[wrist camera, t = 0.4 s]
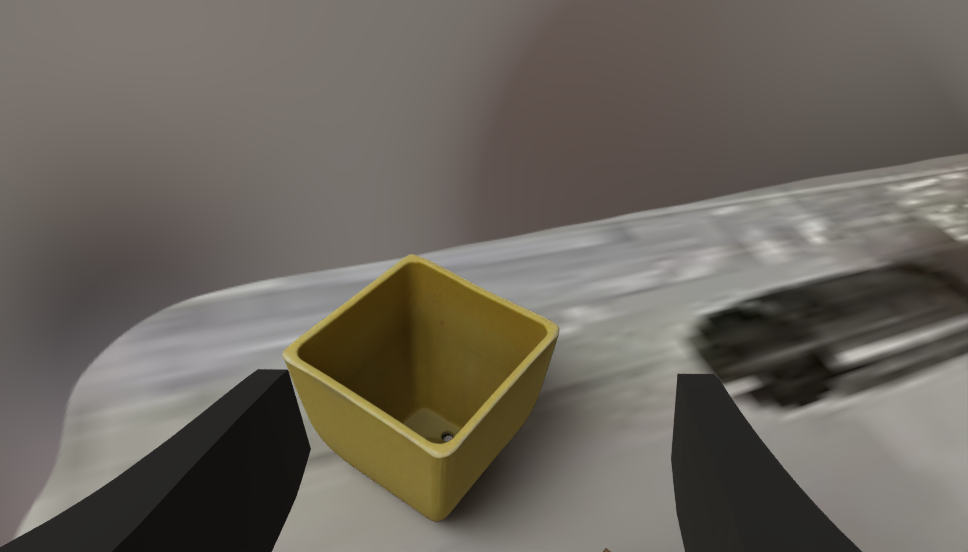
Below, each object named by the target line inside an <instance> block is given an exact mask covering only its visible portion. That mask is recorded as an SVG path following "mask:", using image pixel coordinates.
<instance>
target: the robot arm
mask: <svg viewBox="0 0 968 552" xmlns="http://www.w3.org/2000/svg"><path fill="white" fill-rule="evenodd" d="M310 450H311V448H310V444H309V441H308V437H307V434H306V430H305V427H304V424H303V420H302V417H301V413H300V410H299V406H298V403H297V399H296V396H295V392H294V389H293V385H292V382H291V378H290V375H289V371H288V370H272V369H258V370H256V371H255V372H254V373H252V374H251V375H249V376H248V377H247V378H245V379H244V380H243V381H242V382H240V383H239V384H238V385H236V386H235V387H234V388H233V389H231V390H230V391H229V392H228V393H226V394H225V395H224V396H223V397H221V398H220V399H219V400H218V401H216V402H215V403H214V404H213V405H211V406H210V407H209V408H208V409H206V410H205V411H204V412H203V413H201V414H200V415H199V416H198V417H196V418H195V419H194V420H193V421H191V422H190V423H189V424H187V425H186V426H185V427H184V428H182V429H181V430H180V431H179V432H177V433H176V434H175V435H174V436H172V437H171V438H170V439H168V440H167V441H166V442H164V443H163V444H162V445H160V446H159V447H158V448H156V449H155V450H153V451H152V452H151V453H149V454H148V455H147V456H145V457H144V458H143V459H141V460H140V461H138V462H137V463H136V464H134V465H133V466H132V467H130V468H129V469H128V470H126V471H125V472H123V473H122V474H121V475H119V476H118V477H116V478H115V479H113V480H112V481H111V482H109V483H108V484H106V485H105V486H103V487H102V488H100V489H99V490H97V491H96V492H94V493H93V494H91V495H89V496H88V497H86V498H85V499H83V500H81V501H80V502H78V503H77V504H75V505H73V506H72V507H70V508H69V509H67V510H65V511H64V512H62V513H61V514H59V515H57V516H56V517H54V518H52V519H51V520H49V521H47V522H45V523H43V524H42V525H40V526H38V527H36V528H34V529H33V530H31V531H29V532H27V533H25V534H23V535H22V536H20V537H18V538H16V539H14V540H13V541H11V542H9V543H7V544H5V545H4V546H2V547H0V552H272V550H273V548H274V545H275V543H276V541H277V539H278V537H279V535H280V532H281V530H282V528H283V526H284V524H285V521H286V519H287V517H288V515H289V512H290V510H291V508H292V506H293V503H294V501H295V499H296V496H297V493H298V490H299V487H300V484H301V481H302V477H303V474H304V471H305V467H306V464H307V460H308V457H309V453H310ZM671 462H672V472H673V483H674V492H675V501H676V510H677V516H678V521H679V526H680V530H681V535H682V539H683V544H684V548H685V552H862V551H861V550H860V549H859V548H858V547H857V546H856V545H855V544H854V543H853V542H852V541H851V540H850V539H849V538H847V537H846V536H845V535H844V534H843V533H842V532H841V531H840V530H839V529H838V528H837V527H836V526H835V524H834V523H833V522H832V521H831V520H830V519H829V518H828V517H827V516H826V515H825V514H824V513H823V512H822V511H821V510H820V509H819V508H818V507H817V505H816V504H815V503H814V502H813V501H812V500H811V499H810V498H809V497H808V495H807V494H806V493H805V492H804V491H803V490H802V489H801V488H800V487H799V485H798V484H797V483H796V482H795V481H794V480H793V478H792V477H791V476H790V475H789V474H788V472H787V471H786V470H785V469H784V468H783V466H782V465H781V464H780V463H779V461H778V460H777V459H776V458H775V456H774V455H773V454H772V453H771V451H770V450H769V449H768V448H767V446H766V445H765V444H764V443H763V441H762V440H761V439H760V437H759V436H758V435H757V433H756V432H755V431H754V429H753V428H752V427H751V425H750V424H749V423H748V421H747V420H746V418H745V417H744V416H743V414H742V413H741V411H740V410H739V408H738V407H737V406H736V404H735V403H734V401H733V400H732V398H731V397H730V395H729V394H728V392H727V391H726V389H725V387H724V386H723V384H722V383H721V381H720V380H719V379H718V378H717V377H716V376H715V375H714V374H678V375H677V388H676V402H675V415H674V428H673V441H672V455H671Z"/></svg>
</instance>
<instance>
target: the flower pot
mask: <svg viewBox="0 0 968 552" xmlns="http://www.w3.org/2000/svg"><path fill="white" fill-rule="evenodd" d="M558 335H559V326H558V325H556V324H555V323H553V322H552V321H550V320H548V319H546V318H544V317H542V316H540V315H538V314H536V313H534V312H532V311H530V310H527V309H525V308H523V307H520V306H518V305H516V304H514V303H512V302H510V301H508V300H506V299H504V298H501V297H499V296H497V295H495V294H493V293H490V292H488V291H486V290H484V289H483V288H481V287H479V286H477V285H475V284H473V283H471V282H469V281H467V280H465V279H463V278H461V277H460V276H458V275H456V274H454V273H452V272H450V271H448V270H446V269H445V268H443V267H441V266H439V265H437V264H435V263H433V262H431V261H429V260H427V259H424V258H422V257H419V256H416V255H413V254H411V255H408V256H406V257H404V258H403V259H401V260H400V261H399V262H397V263H396V264H395V265H394V266H392V267H391V268H390V269H389V270H387V271H386V272H385V273H383V274H382V275H381V276H379V277H378V278H377V279H376V280H374V281H373V282H372V283H371V284H369V285H368V286H367V287H366V288H364V289H363V290H361V291H360V292H359V293H357V294H356V295H355V296H354V297H352V298H351V299H350V300H348V301H347V302H346V303H345V304H343V305H342V306H340V307H339V308H338V309H336V310H335V311H334V312H332V313H331V314H330V315H329V316H327V317H326V318H325V319H323V320H322V321H320V322H319V323H317V324H316V325H315V326H313V327H312V328H311V329H310V330H309V331H307V332H306V333H304V334H303V335H302V336H300V337H299V338H298V339H297V340H295V341H294V342H293V343H292V344H291V345H290V346H288V347H287V348H286V349H285V350H284V351H283V358H284V360H285V362H286V365H287V367H288V370H289V372H290V375H291V377H292V380H293V382H294V385H295V387H296V389H297V392H298V394H299V397H300V399H301V401H302V404H303V406H304V408H305V411H306V413H307V415H308V417H309V419H310V421H311V423H312V425H313V427H314V429H315V430H316V432H317V433H318V434H319V436H320V437H321V438H322V440H323V441H324V442H325V443H326V444H327V445H328V446H329V447H330V448H331V449H332V450H333V451H334V452H335V453H336V454H337V455H339V456H340V457H341V458H342V459H343V460H345V461H346V462H347V463H349V464H350V465H352V466H353V467H354V468H356V469H357V470H359V471H360V472H362V473H363V474H365V475H366V476H368V477H369V478H370V479H372V480H373V481H375V482H376V483H378V484H379V485H381V486H382V487H383V488H385V489H386V490H388V491H389V492H391V493H392V494H394V495H395V496H396V497H398V498H399V499H401V500H402V501H404V502H405V503H407V504H408V505H409V506H411V507H412V508H414V509H415V510H416V511H418V512H419V513H421V514H422V515H423V516H425V517H426V518H428V519H430V520H432V521H435V522H437V521H441V520H443V519H445V518H446V517H447V516H448V515H449V514H450V512H451V511H452V510H453V509H454V508H455V506H456V505H457V504H458V503H459V501H460V500H461V499H462V498H463V496H464V495H465V494H466V493H467V492H468V490H469V489H470V488H471V487H472V485H473V484H474V483H475V482H476V481H477V479H478V478H479V477H480V476H481V474H482V473H483V472H484V471H485V470H486V468H487V467H488V466H489V465H490V464H491V462H492V461H493V460H494V459H495V458H496V456H497V455H498V454H499V453H500V452H501V450H502V449H503V448H504V447H505V446H506V445H507V443H508V442H509V441H510V440H511V439H512V438H513V437H514V435H515V434H516V433H517V432H518V430H519V429H520V428H521V426H522V425H523V424H524V422H525V421H526V419H527V418H528V416H529V415H530V413H531V411H532V409H533V408H534V405H535V403H536V401H537V399H538V396H539V393H540V391H541V388H542V385H543V382H544V378H545V375H546V372H547V369H548V366H549V363H550V360H551V357H552V354H553V351H554V348H555V344H556V341H557V338H558ZM445 434H450V435H452V437H453V439H452V440H450V441H449V442H446V441H443V440H442V437H443V435H445Z"/></svg>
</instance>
